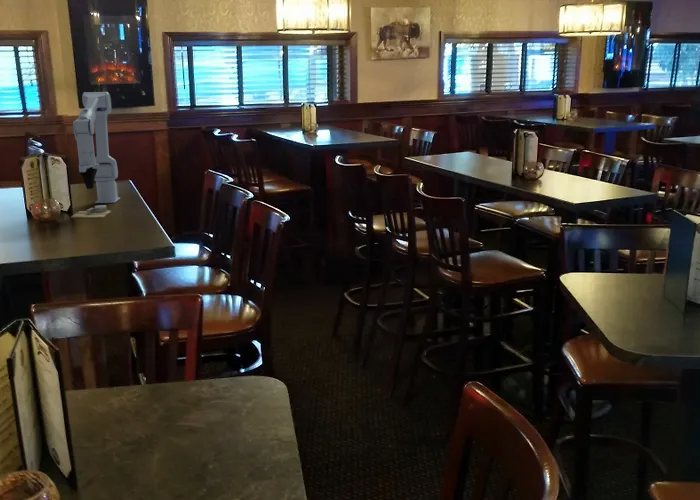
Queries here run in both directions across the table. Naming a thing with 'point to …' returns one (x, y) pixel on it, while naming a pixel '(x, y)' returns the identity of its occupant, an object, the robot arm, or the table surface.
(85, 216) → the cork mat
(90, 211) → the lighter
